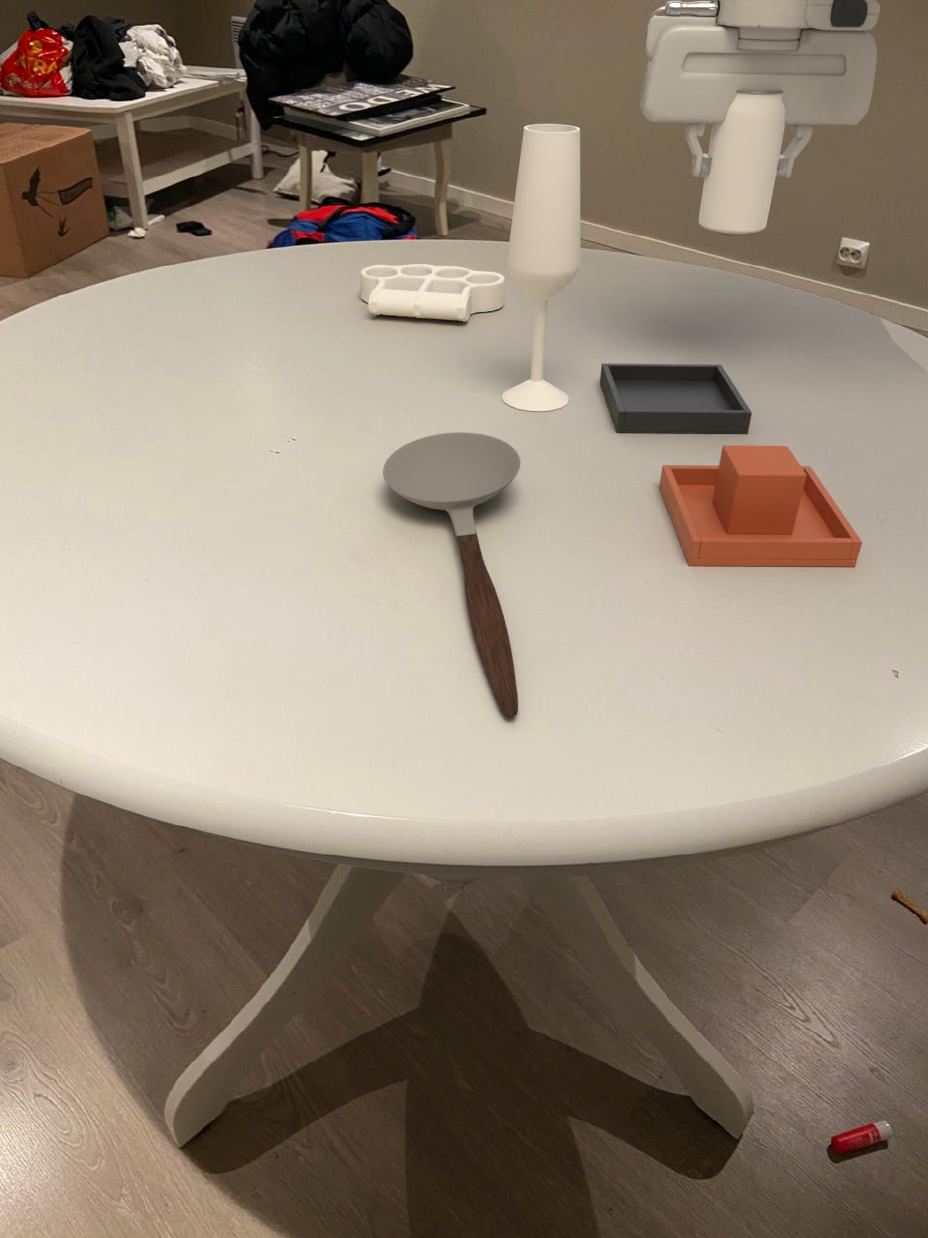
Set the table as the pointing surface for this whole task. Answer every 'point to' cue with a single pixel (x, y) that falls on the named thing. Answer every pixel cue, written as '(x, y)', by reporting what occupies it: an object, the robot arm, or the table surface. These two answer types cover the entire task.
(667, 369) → the charcoal tray
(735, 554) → the terracotta tray
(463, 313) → the white brass knuckles
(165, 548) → the table surface
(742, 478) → the block
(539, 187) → the champagne flute
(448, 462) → the spoon
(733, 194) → the can
